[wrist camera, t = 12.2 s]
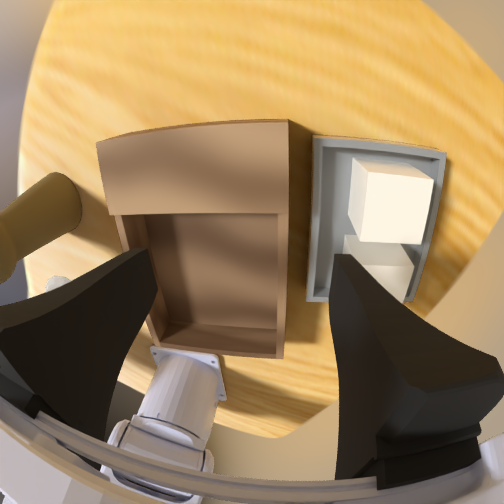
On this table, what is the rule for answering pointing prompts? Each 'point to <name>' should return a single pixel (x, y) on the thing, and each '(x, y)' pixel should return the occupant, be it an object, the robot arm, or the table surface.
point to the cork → (37, 219)
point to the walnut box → (207, 229)
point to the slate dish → (337, 203)
